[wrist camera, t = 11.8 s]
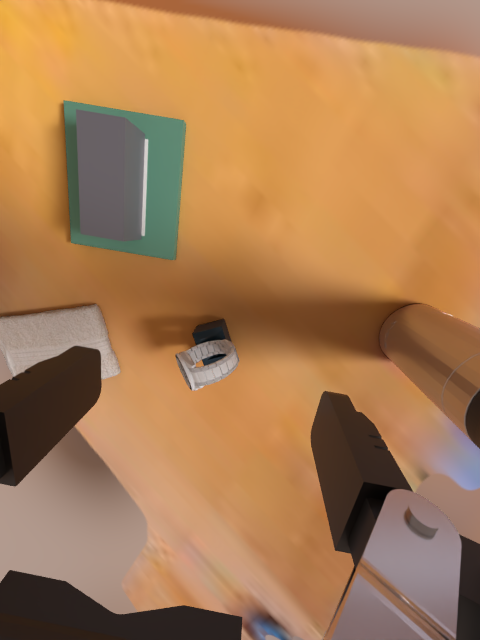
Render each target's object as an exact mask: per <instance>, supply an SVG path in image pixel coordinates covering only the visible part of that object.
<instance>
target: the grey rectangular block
mask: <svg viewBox="0 0 480 640" xmlns="http://www.w3.org/2000/svg"><path fill="white" fill-rule="evenodd" d="M76 125H77V152H78V178H79V205H80V231H81V234H83V235H89V236H95V237H100V238H106V239H112V240H118V241H132V240H141V236H142V208H143V179H144V151H145V133H143V132H142V131H141V130H140V129H139V128H137V127H136V126H135V125H134V124H133V123H131V122H130V121H129V120H128V119H126V118H125V117H119V116H113V115H107V114H101V113H96V112H90V111H84V110H78V109H76Z"/></svg>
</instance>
